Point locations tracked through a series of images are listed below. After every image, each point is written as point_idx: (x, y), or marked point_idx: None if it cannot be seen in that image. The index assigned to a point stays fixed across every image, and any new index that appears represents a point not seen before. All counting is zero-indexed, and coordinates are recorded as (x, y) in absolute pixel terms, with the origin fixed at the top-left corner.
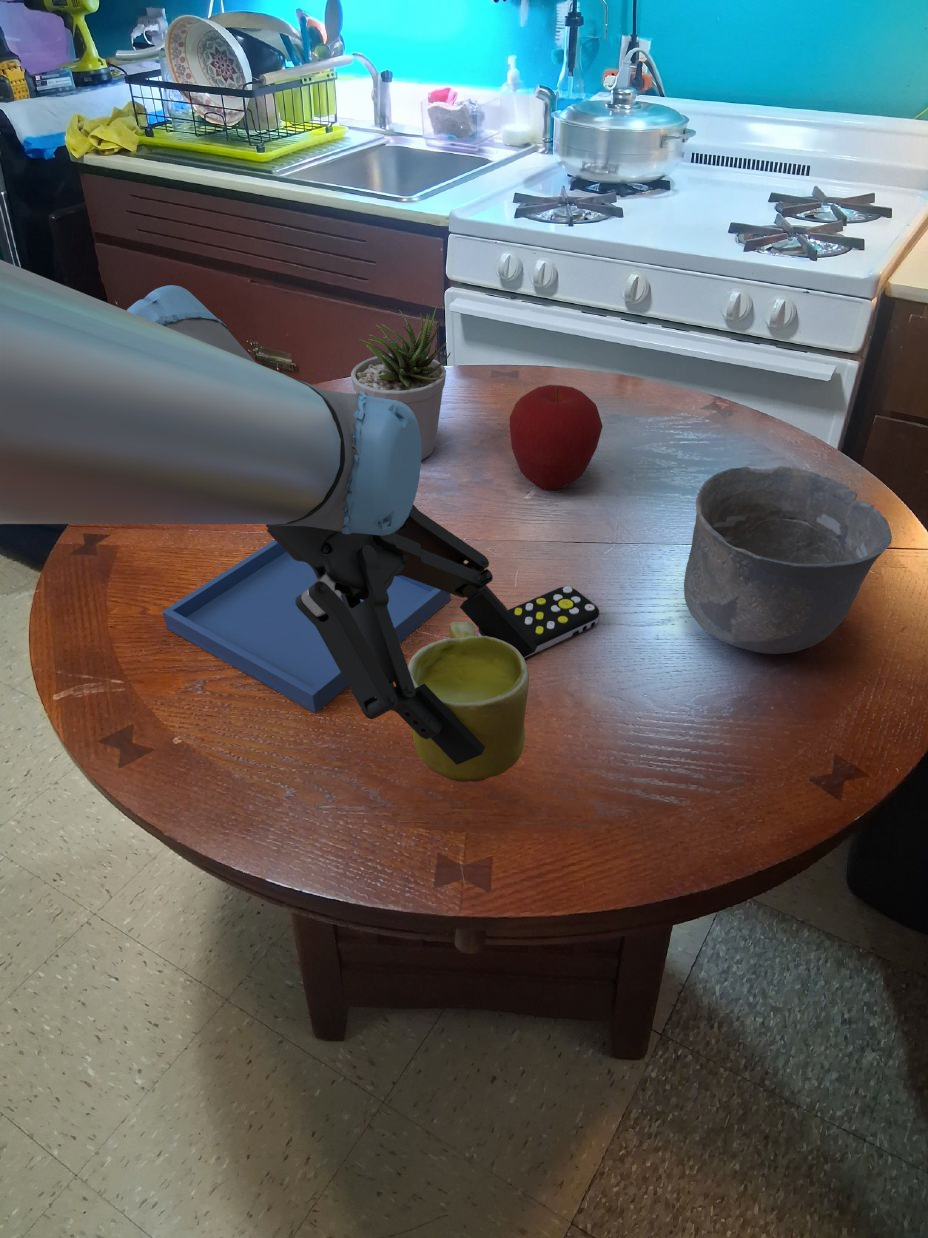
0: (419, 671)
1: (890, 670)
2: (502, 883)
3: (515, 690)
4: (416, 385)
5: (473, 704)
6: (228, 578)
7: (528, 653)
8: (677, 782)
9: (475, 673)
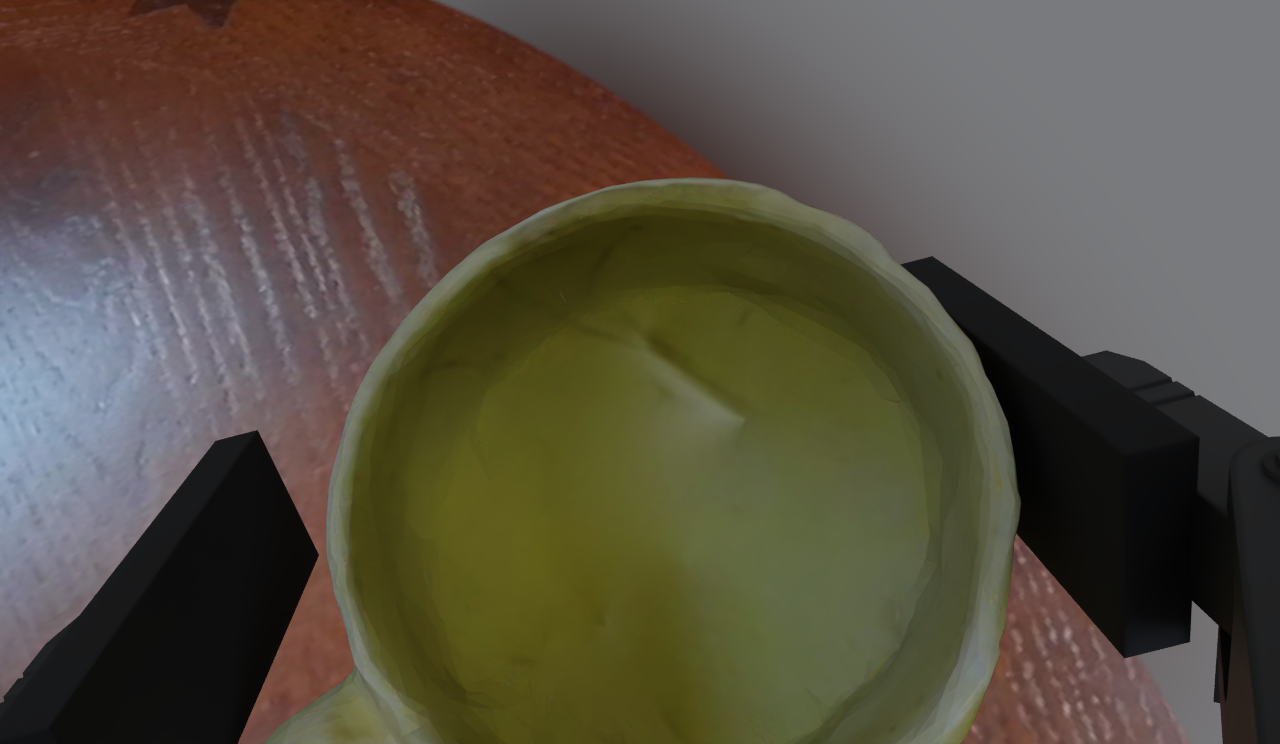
0: None
1: None
2: None
3: (666, 179)
4: None
5: (896, 263)
6: None
7: (268, 464)
8: (354, 215)
9: (526, 574)
